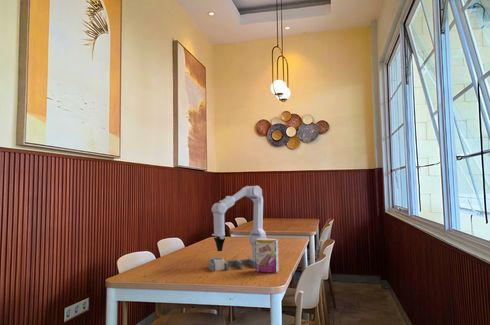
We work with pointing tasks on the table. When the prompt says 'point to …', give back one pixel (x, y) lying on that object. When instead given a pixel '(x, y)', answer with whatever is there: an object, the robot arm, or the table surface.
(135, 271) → the table surface
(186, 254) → the table surface
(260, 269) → the candy bar box
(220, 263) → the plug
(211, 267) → the e-shaped shelf rack
